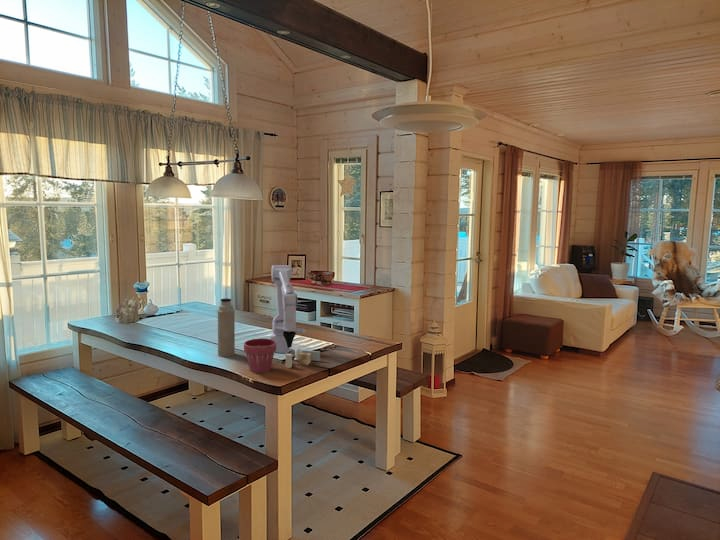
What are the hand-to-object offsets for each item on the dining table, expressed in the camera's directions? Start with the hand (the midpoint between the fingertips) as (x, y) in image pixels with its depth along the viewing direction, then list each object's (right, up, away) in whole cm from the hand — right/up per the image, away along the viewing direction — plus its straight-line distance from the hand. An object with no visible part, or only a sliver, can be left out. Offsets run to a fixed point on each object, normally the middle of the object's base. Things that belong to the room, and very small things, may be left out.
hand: (289, 347), depth 236 cm
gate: (+10, -7, +4) cm, 13 cm away
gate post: (+3, -7, +5) cm, 9 cm away
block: (+7, -8, 0) cm, 10 cm away
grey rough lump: (-114, +5, +76) cm, 137 cm away
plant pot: (-12, -9, -12) cm, 19 cm away
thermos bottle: (-33, -5, +10) cm, 34 cm away
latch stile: (+1, -8, -5) cm, 9 cm away
